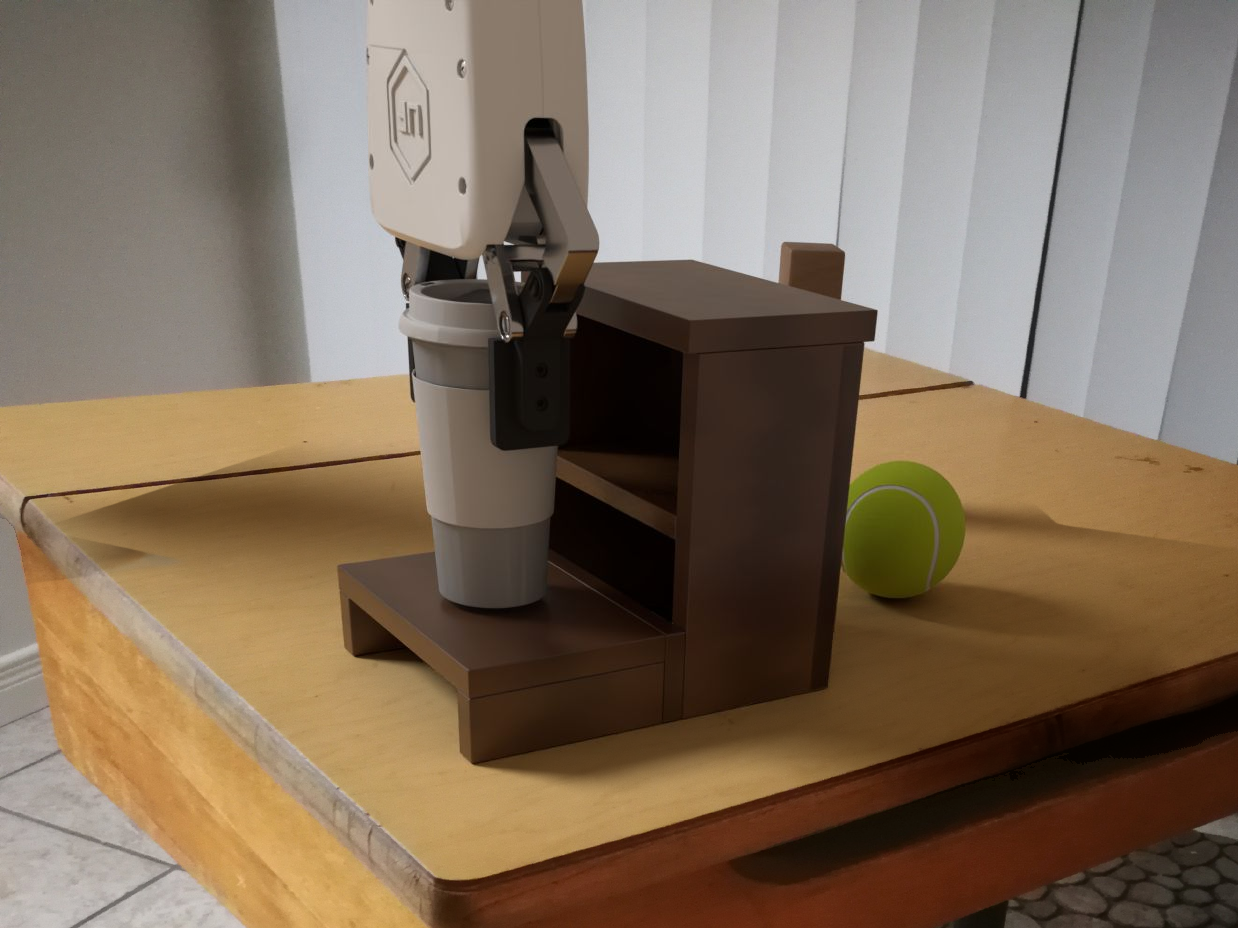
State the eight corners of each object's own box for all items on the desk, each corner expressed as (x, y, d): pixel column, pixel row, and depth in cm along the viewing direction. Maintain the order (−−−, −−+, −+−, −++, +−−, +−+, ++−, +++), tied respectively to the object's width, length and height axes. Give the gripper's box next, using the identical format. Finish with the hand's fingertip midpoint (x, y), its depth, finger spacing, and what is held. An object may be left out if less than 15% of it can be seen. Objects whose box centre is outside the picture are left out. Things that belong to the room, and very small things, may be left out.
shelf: (471, 764, 57) (455, 333, 49) (343, 648, 67) (311, 271, 58) (837, 686, 66) (878, 310, 58) (677, 593, 76) (692, 259, 67)
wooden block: (821, 511, 90) (846, 251, 82) (770, 510, 90) (790, 248, 82) (802, 483, 96) (824, 236, 88) (754, 482, 96) (771, 234, 87)
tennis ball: (842, 566, 81) (855, 440, 78) (964, 585, 80) (984, 456, 76) (812, 604, 76) (825, 470, 72) (942, 625, 74) (963, 488, 70)
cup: (470, 555, 66) (460, 271, 60) (598, 580, 64) (603, 290, 58) (380, 599, 60) (359, 292, 54) (518, 629, 58) (513, 313, 52)
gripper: (280, -118, 53) (322, 385, 63) (484, -139, 41) (498, 488, 51) (466, -98, 57) (479, 375, 66) (703, -112, 45) (678, 468, 54)
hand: (487, 420), depth 58 cm, fingers closed on cup, 6 cm apart
